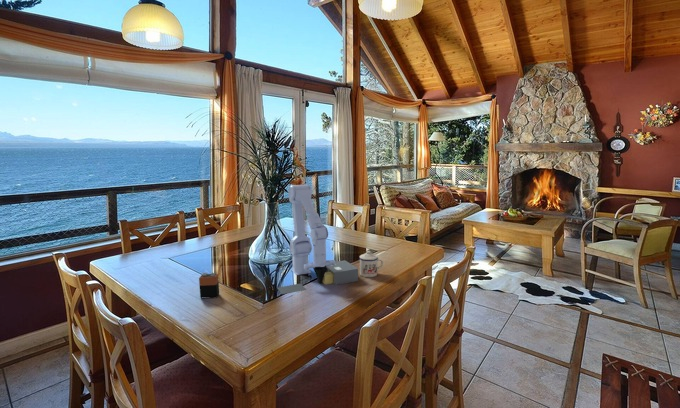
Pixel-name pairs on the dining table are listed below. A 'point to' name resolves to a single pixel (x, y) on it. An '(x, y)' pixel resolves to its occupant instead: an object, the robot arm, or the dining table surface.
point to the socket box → (343, 272)
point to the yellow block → (328, 278)
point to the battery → (209, 285)
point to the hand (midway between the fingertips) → (320, 282)
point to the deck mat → (291, 288)
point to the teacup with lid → (369, 264)
